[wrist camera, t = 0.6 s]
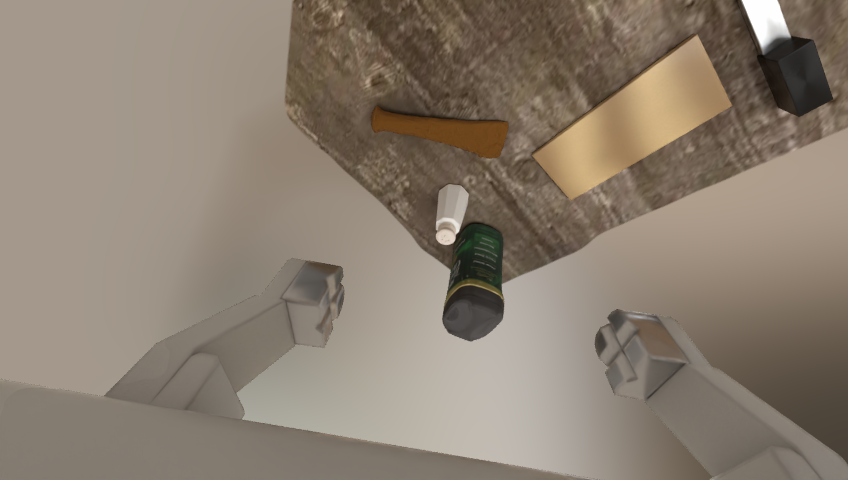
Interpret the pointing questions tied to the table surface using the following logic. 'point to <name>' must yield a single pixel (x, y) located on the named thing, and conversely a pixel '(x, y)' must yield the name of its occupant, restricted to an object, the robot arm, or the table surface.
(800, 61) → the knife
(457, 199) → the pepper shaker
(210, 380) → the robot arm
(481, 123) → the primitive tool
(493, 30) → the table surface
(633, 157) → the cutting board
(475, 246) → the coffee jar
